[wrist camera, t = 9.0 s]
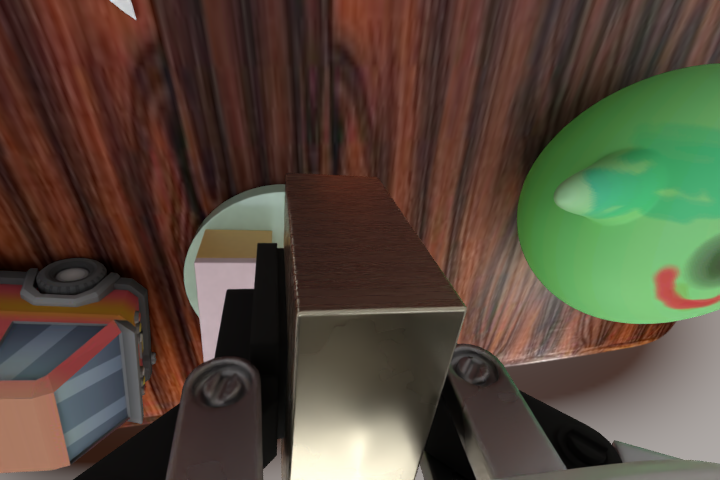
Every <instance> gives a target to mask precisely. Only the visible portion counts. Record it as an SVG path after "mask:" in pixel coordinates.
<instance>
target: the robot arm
mask: <svg viewBox="0 0 720 480" xmlns="http://www.w3.org/2000/svg"><path fill="white" fill-rule="evenodd" d="M287 354H288V332H287V309H286V286H285V263H284V248H277V243H257V256H256V269H255V282H254V289H227V291H226V295H225V301H224V307H223V312H222V318H221V323H220V329H219V335H218V340H217V346H216V351H215V357H214V358H213V359H211V360H208V361H206V362H204V363H202V364H201V365H199V366H198V367H196V368H195V369H194V370H193V371H192V372H191V373H190V374H189V376H188V377H187V378H186V381H185V383H184V386H183V389H182V395H181V400H180V403H179V404H178V405H177V406H175V407H174V408H172V409H171V410H170V411H168V412H167V413H165V414H164V415H163V416H161V417H160V418H159V419H157V420H156V421H154V422H153V423H152V424H150V425H149V426H147V427H146V428H145V429H143V430H142V431H141V432H139V433H138V434H136V435H135V436H134V437H132V438H131V439H129V440H128V441H127V442H125V443H124V444H122V445H121V446H119V447H118V448H117V449H115V450H114V451H112V452H111V453H110V454H108V455H107V456H106V457H104V458H103V459H102V460H100V461H99V462H97V463H96V464H94V465H93V466H92V467H90V468H89V469H87V470H86V471H85V472H83V473H82V474H80V475H79V476H78V477H76V478H75V479H73V480H263V469H264V468H265V467H266V466H267V465H268V464H269V463H270V461H272V460H273V459H274V457H275V456H276V455H277V439H280V438H284V431H285V406H286V380H287ZM420 466H421V470H422V473H423V477H424V480H720V464H717V463H711V462H703V461H694V460H683V459H679V458H675V457H672V456H668V455H665V454H661V453H657V452H654V451H651V450H647V449H644V448H640V447H636V446H632V445H629V444H626V443H622V442H619V441H614V442H613V443H612V445H611V443H610V442H609V441H608V440H607V439H606V438H604V437H603V436H602V435H601V434H600V433H599V432H597V431H596V430H594V429H592V428H590V427H589V426H587V425H586V424H584V423H582V422H579V421H578V420H576V419H574V418H572V417H570V416H568V415H566V414H564V413H562V412H560V411H558V410H556V409H555V408H553V407H551V406H549V405H547V404H545V403H543V402H541V401H539V400H537V399H535V398H533V397H531V396H529V395H527V394H526V393H524V392H522V391H520V390H518V389H517V387H516V385H515V384H514V382H513V380H512V379H511V377H510V376H509V374H508V372H507V371H506V369H505V367H504V366H503V364H502V363H501V362H500V361H499V359H498V358H497V357H495V356H494V355H493V354H492V353H490V352H489V351H487V350H485V349H483V348H481V347H478V346H475V345H471V344H456V347H455V350H454V353H453V357H452V360H451V363H450V366H449V370H448V373H447V376H446V379H445V383H444V386H443V389H442V392H441V396H440V399H439V402H438V405H437V409H436V412H435V415H434V418H433V422H432V425H431V428H430V431H429V435H428V438H427V441H426V444H425V448H424V451H423V454H422V457H421V461H420Z"/></svg>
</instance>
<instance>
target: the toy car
mask: <svg viewBox="0 0 720 480" xmlns="http://www.w3.org/2000/svg"><path fill="white" fill-rule="evenodd" d="M155 356H156V353H155V352H151V336H150V321H149V308H148V294H147V289H146V288H144V287H143V286H142V285H140V284H139V283H138V282H136V281H135V280H134V279H131V278H121V277H120V275H118V274H117V273H112V272H111V273H110V274H109V275H108V276H107V270H106V268H105V266H104V265H103V264H102V263H100V262H98V261H96V260H93V259H88V258H69V259H64V260H59V261H56V262H54V263H51V264H49V265H47V266H46V267H45V268H43V269H42V270H40V271H38V268H31V269H29V270H28V271H27V272H20V271H0V473H11V472H28V471H43V470H44V471H45V470H54V469H58V468H61V467H65V466H69V465H71V464H72V463H74V462H75V461H76V460H77V459H79V458H80V457H81V456H82V455H84V454H85V453H86V452H88V451H89V450H90V449H92V448H93V447H94V446H95V445H97V444H98V443H99V442H100V441H102V440H103V439H104V438H106V437H107V436H108V435H109V434H111V433H112V432H113V431H114V430H116V429H117V428H118V427H120V426H121V425H122V424H123V423H125V422H126V421H130V422H135V423H140V424H142V421H143V416H144V415H143V402H142V395H144V394H145V391H146V386H145V382H146V381H147V380H149V379H150V376H151V373H152V364H155V362H156V358H155Z"/></svg>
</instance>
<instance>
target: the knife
mask: <svg viewBox="0 0 720 480" xmlns="http://www.w3.org/2000/svg"><path fill="white" fill-rule="evenodd" d="M110 1H111V2H112V3H114V4H115V5H116V6H117V7H118V8H120V9H121V10H122V11H124V12H125V13H126V14H128V15H129V16H131V17H132V18H134V19H136V16H135V12H134V8H133V5H132V2H131V0H110ZM136 20H137V19H136Z"/></svg>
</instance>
